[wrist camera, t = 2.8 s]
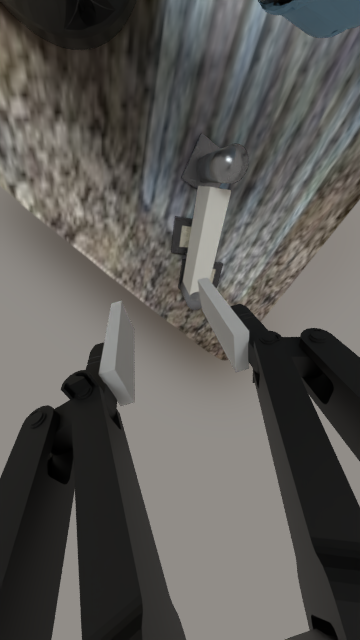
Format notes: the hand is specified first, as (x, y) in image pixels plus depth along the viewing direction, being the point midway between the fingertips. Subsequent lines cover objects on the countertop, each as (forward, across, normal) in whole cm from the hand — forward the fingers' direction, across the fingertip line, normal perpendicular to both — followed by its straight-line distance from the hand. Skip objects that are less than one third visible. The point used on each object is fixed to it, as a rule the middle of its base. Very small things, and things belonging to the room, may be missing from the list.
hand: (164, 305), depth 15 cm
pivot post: (+19, +10, +7) cm, 23 cm away
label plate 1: (+19, +7, -1) cm, 20 cm away
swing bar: (+17, +7, -2) cm, 18 cm away
